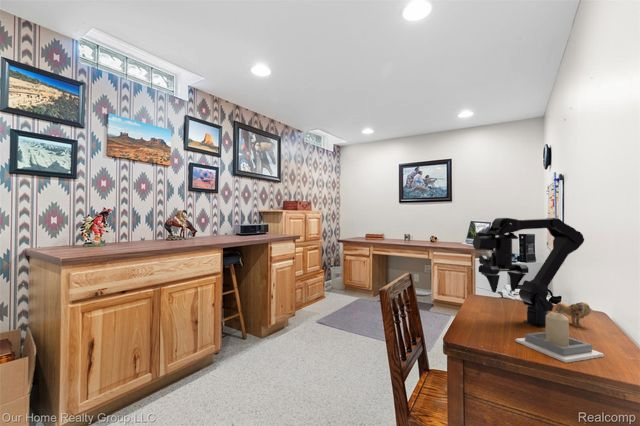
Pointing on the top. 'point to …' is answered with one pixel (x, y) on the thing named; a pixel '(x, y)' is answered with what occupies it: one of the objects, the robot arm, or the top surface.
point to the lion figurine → (574, 311)
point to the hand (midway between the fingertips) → (503, 291)
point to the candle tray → (560, 348)
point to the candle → (557, 329)
